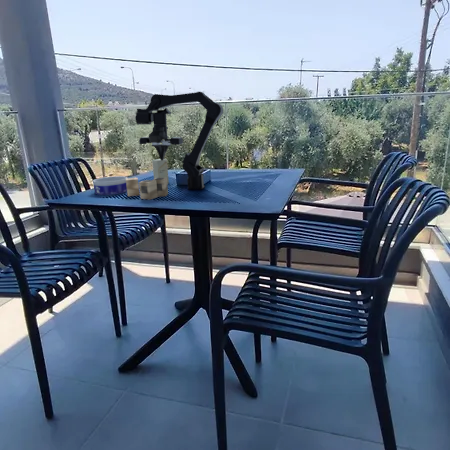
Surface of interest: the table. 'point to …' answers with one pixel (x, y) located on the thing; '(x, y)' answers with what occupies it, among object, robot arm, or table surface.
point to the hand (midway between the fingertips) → (162, 160)
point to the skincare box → (160, 169)
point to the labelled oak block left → (161, 186)
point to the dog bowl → (110, 185)
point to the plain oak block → (132, 186)
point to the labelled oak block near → (148, 189)
